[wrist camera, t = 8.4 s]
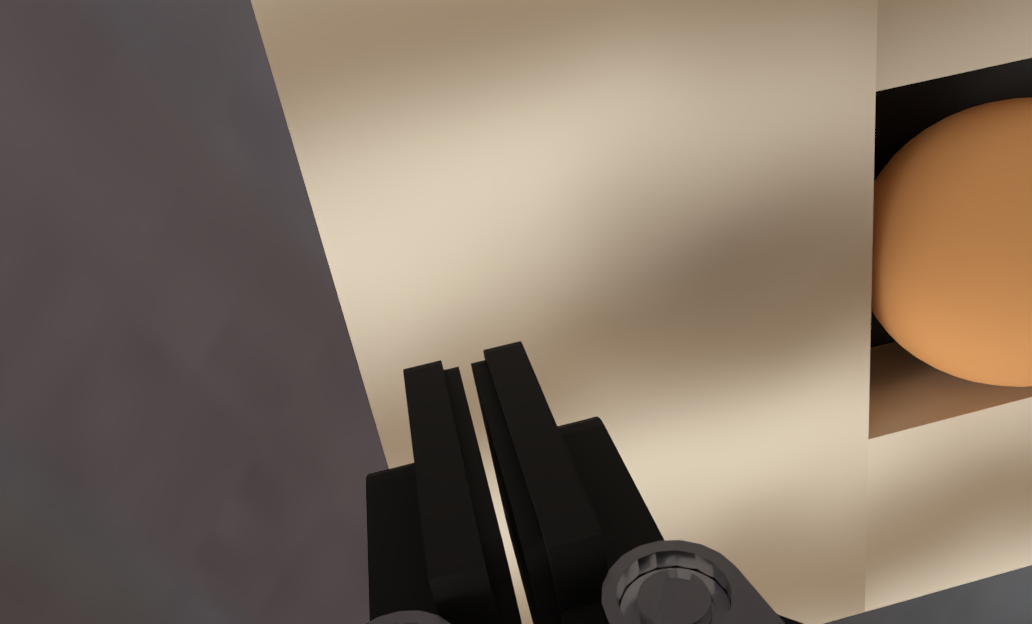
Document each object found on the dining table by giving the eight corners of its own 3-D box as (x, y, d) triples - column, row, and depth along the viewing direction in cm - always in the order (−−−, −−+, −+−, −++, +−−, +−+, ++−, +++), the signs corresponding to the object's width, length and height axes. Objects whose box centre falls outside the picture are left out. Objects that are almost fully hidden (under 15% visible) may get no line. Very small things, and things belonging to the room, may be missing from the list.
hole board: (245, -111, 14) (211, -136, 11) (1224, -286, 16) (1437, -351, 13) (450, 615, 22) (464, 724, 18) (1100, 440, 23) (1215, 513, 20)
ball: (889, 384, 14) (1301, 379, 12) (869, 67, 15) (1254, 23, 13) (846, 392, 20) (1123, 388, 18) (833, 163, 20) (1098, 140, 19)
